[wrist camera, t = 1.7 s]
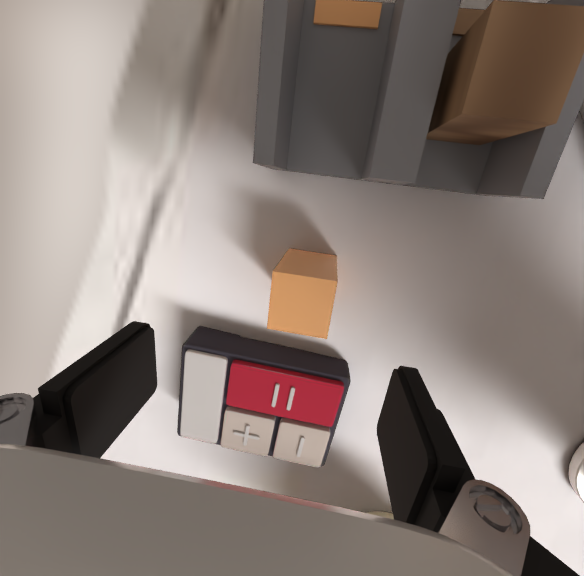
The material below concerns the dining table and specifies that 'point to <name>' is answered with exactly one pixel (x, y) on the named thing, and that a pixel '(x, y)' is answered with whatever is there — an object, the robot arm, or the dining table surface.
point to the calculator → (260, 396)
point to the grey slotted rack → (385, 99)
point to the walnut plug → (508, 72)
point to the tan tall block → (303, 293)
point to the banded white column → (582, 110)
